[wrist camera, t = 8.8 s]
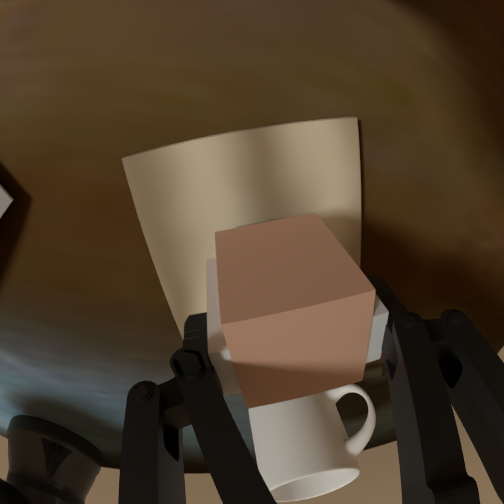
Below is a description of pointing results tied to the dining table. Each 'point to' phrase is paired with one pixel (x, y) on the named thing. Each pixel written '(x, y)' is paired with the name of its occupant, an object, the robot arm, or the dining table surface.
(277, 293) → the pink rectangular block
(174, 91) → the dining table surface
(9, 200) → the book
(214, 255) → the board
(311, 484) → the mug
